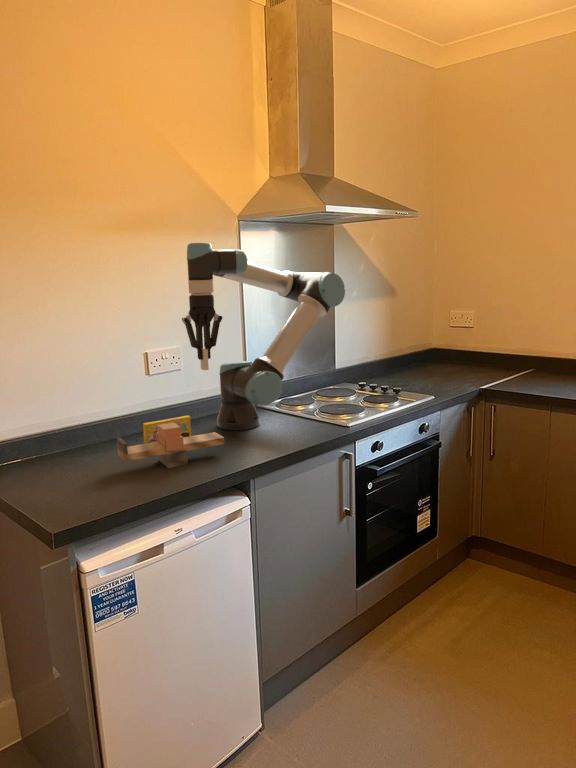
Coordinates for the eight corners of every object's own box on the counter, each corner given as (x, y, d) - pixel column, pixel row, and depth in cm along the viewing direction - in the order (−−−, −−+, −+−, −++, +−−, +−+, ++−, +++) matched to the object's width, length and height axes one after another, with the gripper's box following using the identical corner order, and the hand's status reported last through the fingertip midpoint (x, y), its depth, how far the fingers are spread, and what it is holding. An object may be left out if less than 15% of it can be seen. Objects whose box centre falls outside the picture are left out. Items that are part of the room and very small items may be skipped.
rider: (173, 441, 178) (172, 421, 177) (183, 448, 171) (182, 428, 169) (157, 444, 176) (155, 423, 175) (167, 451, 168) (165, 430, 167)
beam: (215, 450, 185) (213, 422, 183) (225, 457, 178) (224, 428, 177) (118, 467, 170) (116, 437, 169) (126, 476, 164) (123, 444, 162)
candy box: (146, 449, 187) (144, 424, 186) (143, 448, 189) (141, 423, 187) (192, 440, 197) (190, 415, 195) (188, 438, 199) (187, 414, 197)
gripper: (215, 292, 189) (218, 365, 194) (176, 294, 183) (180, 369, 188) (225, 293, 183) (228, 369, 188) (185, 295, 177) (189, 373, 181)
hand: (204, 369), depth 188 cm, fingers closed
